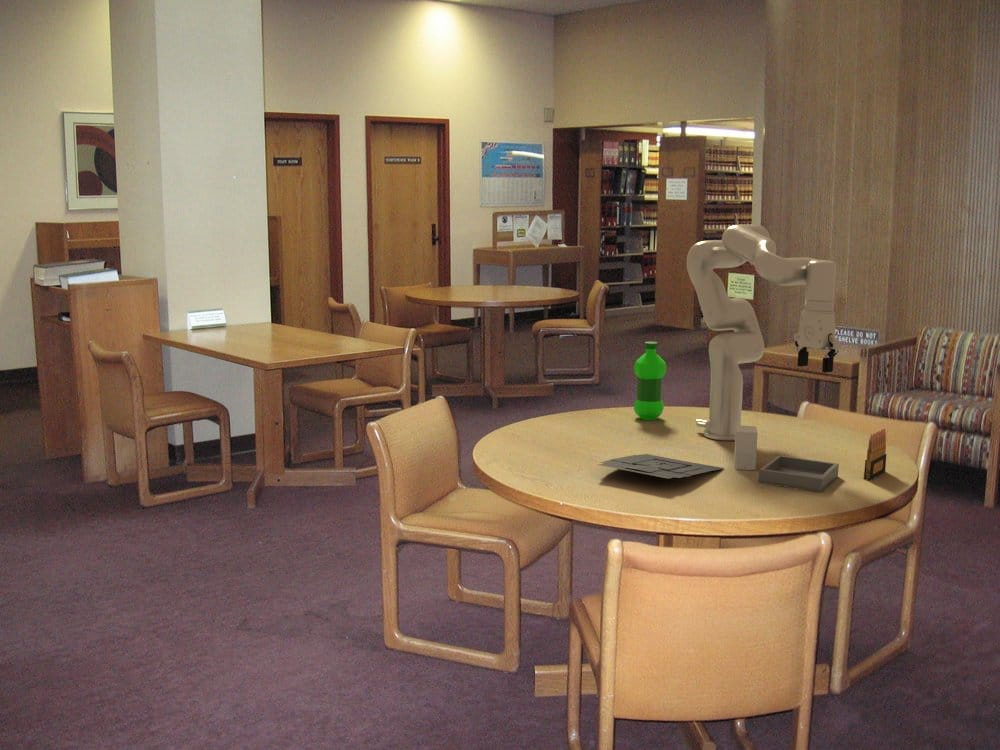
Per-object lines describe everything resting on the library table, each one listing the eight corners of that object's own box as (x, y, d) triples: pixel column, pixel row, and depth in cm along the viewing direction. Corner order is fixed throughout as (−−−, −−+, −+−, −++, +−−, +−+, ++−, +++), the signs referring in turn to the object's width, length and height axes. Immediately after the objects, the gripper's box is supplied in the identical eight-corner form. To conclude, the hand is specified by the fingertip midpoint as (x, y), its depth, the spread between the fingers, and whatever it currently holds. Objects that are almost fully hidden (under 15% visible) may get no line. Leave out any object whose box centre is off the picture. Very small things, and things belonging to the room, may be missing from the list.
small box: (755, 471, 278) (757, 432, 276) (734, 469, 279) (736, 431, 277) (754, 463, 285) (756, 426, 283) (733, 462, 286) (735, 424, 285)
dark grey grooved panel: (589, 473, 269) (590, 460, 269) (644, 463, 294) (645, 450, 293) (674, 491, 255) (675, 476, 255) (724, 478, 279) (726, 465, 279)
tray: (758, 482, 267) (759, 469, 266) (777, 467, 281) (778, 455, 280) (821, 492, 259) (822, 479, 258) (837, 476, 273) (838, 463, 272)
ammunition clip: (878, 470, 279) (882, 427, 277) (885, 472, 278) (889, 428, 276) (863, 479, 271) (866, 434, 269) (870, 480, 270) (874, 435, 268)
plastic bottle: (665, 415, 342) (668, 340, 338) (662, 422, 332) (665, 345, 328) (634, 414, 345) (637, 339, 340) (631, 420, 335) (633, 344, 330)
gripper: (786, 303, 285) (782, 364, 288) (830, 310, 270) (826, 375, 273) (807, 302, 288) (803, 362, 291) (853, 309, 273) (848, 373, 276)
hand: (814, 368), depth 282 cm, fingers open, 9 cm apart
